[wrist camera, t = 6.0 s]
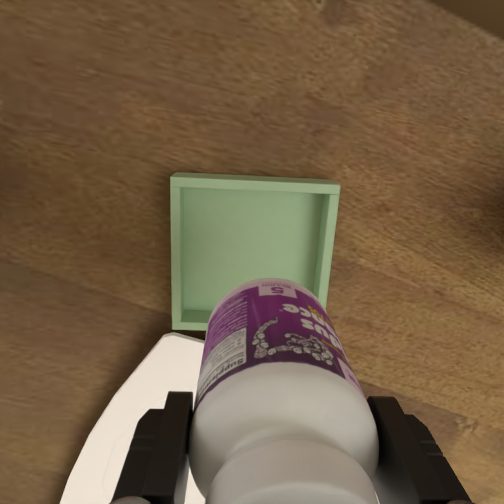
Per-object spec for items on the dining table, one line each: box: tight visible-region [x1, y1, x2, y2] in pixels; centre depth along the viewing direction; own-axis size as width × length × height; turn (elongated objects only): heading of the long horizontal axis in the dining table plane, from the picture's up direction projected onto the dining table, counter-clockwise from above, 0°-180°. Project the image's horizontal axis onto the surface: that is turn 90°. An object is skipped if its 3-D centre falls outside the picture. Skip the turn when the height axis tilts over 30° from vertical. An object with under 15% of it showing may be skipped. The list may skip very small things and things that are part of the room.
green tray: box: [170, 172, 341, 331], centre depth 27 cm, size 10×10×2 cm
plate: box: [60, 332, 380, 504], centre depth 33 cm, size 24×24×3 cm
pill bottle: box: [188, 278, 379, 504], centre depth 13 cm, size 5×5×10 cm
